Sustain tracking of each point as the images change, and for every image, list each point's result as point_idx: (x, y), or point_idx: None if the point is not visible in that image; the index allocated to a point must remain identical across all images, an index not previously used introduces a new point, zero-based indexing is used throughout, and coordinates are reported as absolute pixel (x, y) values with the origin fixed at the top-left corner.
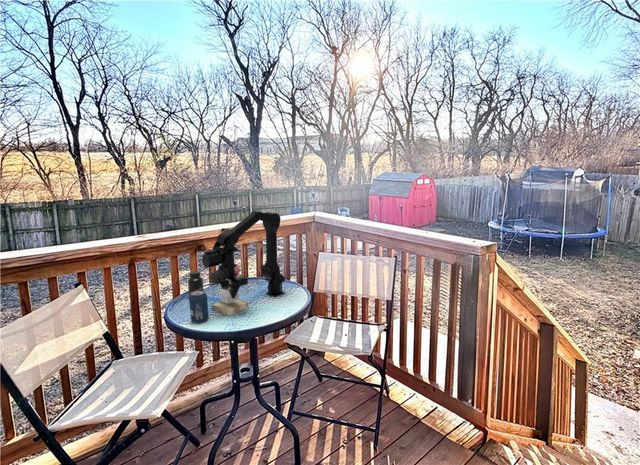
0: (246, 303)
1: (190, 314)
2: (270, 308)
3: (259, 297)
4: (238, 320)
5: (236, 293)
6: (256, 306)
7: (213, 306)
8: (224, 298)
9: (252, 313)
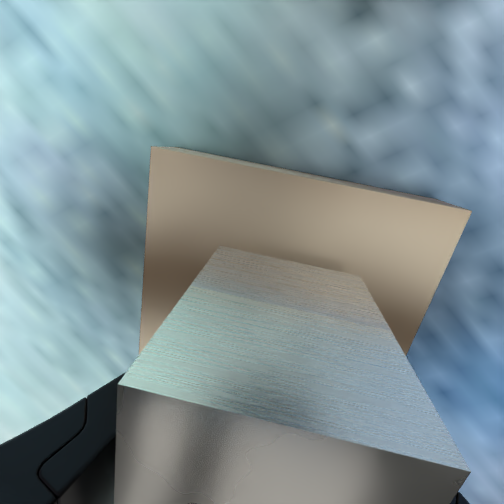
0: None
1: None
2: (26, 386)
3: None
4: (36, 112)
5: None
6: None
7: (434, 202)
8: (284, 285)
9: (56, 278)
